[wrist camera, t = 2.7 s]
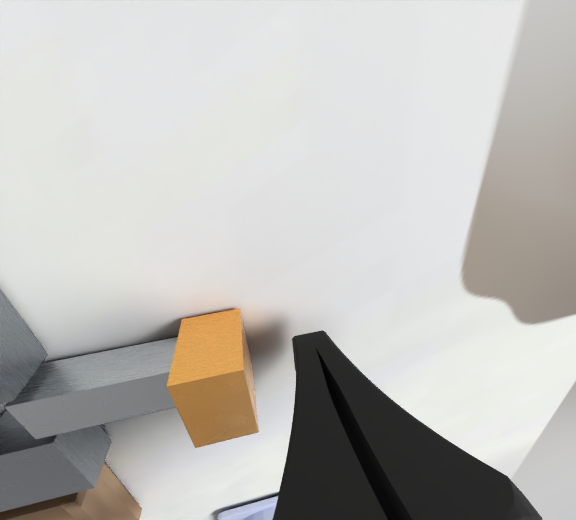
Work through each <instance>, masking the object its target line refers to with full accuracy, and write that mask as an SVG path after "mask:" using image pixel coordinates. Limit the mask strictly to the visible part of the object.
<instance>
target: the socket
mask: <svg viewBox="0 0 576 520" xmlns="http://www.w3.org/2000/svg"><path fill="white" fill-rule="evenodd" d="M47 356H48V354H47V353H46V351H45V350H44V349H43V347H42V346H41V345H40V343H39V342H38V340H37V339H36V338H35V336H34V335H33V334H32V332H31V331H30V330H29V328H28V327H27V326H26V324H25V323H24V321H23V320H22V319H21V317H20V316H19V315H18V313H17V312H16V311H15V309H14V308H13V306H12V305H11V304H10V302H9V301H8V300H7V298H6V297H5V296H4V294H3V293H2V292H1V290H0V404H1V403H6V402H11V401H14V399H15V398H16V397H17V395H18V394H19V393H20V391H21V390H22V389H23V387H24V386H25V385H26V383H27V382H28V381H29V379H30V378H31V377H32V375H33V374H34V373H35V371H36V370H37V369H38V367H39V366H40V365H41V364H42V362H43V361H44V360H45V358H46V357H47ZM110 444H111V440H110V438H109V437H108V435H107V434H106V433H105V431H104V430H103V429H102V427H101V426H100V425H96V426H92V427H87V428H83V429H79V430H74V431H70V432H66V433H61V434H57V435H52V436H48V437H44V438H39V439H35V438H34V437H33V436H32V435H31V434H30V433H29V432H28V431H27V430H26V429H25V428H24V427H23V426H22V425H21V424H20V423H19V422H18V421H17V420H16V419H15V418H14V417H13V416H12V415H11V414H10V413H9V412H8V411H5V413H4V414H3V415H2V417H1V418H0V512H3V511H7V510H11V509H14V508H18V507H22V506H26V505H30V504H34V503H38V502H42V501H45V500H49V499H53V498H57V497H61V496H65V495H69V494H73V493H77V492H80V491H84V490H88V489H92V488H95V486H96V483H97V480H98V477H99V475H100V472H101V469H102V466H103V463H104V461H105V458H106V455H107V452H108V450H109V447H110Z"/></svg>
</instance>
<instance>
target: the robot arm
mask: <svg viewBox="0 0 576 520" xmlns="http://www.w3.org/2000/svg"><path fill="white" fill-rule="evenodd" d="M292 341H293V351H294V362H295V370H296V391H295V405H294V414H293V422H292V429H291V435H290V441H289V447H288V453H287V458H286V463H285V468H284V473H283V477H282V482H281V486H280V491H279V495H278V496H276V497H272V498H269V499H265V500H262V501H258V502H255V503H251V504H248V505H244V506H241V507H237V508H234V509H230V510H227V511H223V512H221V513H219V515H218V520H542V517H541V516H540V515H539V514H538V512H537V511H536V510H535V508H534V507H533V506H532V505H531V504H530V502H529V501H528V499H527V498H526V497H525V496H524V495H523V493H522V492H521V491H520V490H519V489H518V488H517V487H516V486H515V484H514V483H513V482H512V481H511V480H510V479H509V478H508V477H507V476H506V475H504V474H502V473H501V472H499V471H497V470H495V469H494V468H492V467H490V466H488V465H487V464H485V463H483V462H482V461H480V460H478V459H477V458H475V457H473V456H472V455H470V454H468V453H467V452H465V451H463V450H462V449H460V448H459V447H457V446H456V445H454V444H452V443H451V442H449V441H448V440H446V439H445V438H443V437H442V436H440V435H439V434H437V433H436V432H434V431H433V430H432V429H430V428H429V427H427V426H426V425H424V424H423V423H422V422H420V421H419V420H417V419H416V418H414V417H413V416H412V415H411V414H409V413H408V412H407V411H405V410H404V409H403V408H401V407H400V406H399V405H398V404H396V403H395V402H394V401H393V400H391V399H390V398H389V397H388V396H387V395H386V394H384V393H383V392H382V391H381V390H380V389H379V388H378V387H376V386H375V385H374V384H373V383H372V382H371V381H370V380H369V379H368V378H367V377H366V376H365V375H364V374H363V373H362V372H360V371H359V369H358V368H357V367H356V366H355V365H354V364H353V363H352V362H351V361H350V360H349V359H348V358H347V357H346V356H345V355H344V354H343V353H342V352H341V350H340V349H339V348H338V347H337V346H336V345H335V344H334V342H333V341H332V340H331V339H330V337H329V336H328V335H327V334H326V332H324V331H323V330H322V331H318V332H313V333H308V334H303V335H298V336H294V337H293V339H292Z"/></svg>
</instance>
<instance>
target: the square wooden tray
mask: <svg viewBox="0 0 576 520" xmlns="http://www.w3.org/2000/svg"><path fill="white" fill-rule="evenodd" d="M141 510H142V508H141V507H140V506H139V504H138V503H137V502H136V501H135V500H134V498H133V497H132V496H131V495H130V494H129V492H128V491H127V490H126V489H125V487H124V486H123V485H122V484H121V483H120V481H119V480H118V479H117V478H116V476H115V475H114V474H113V473H112V472H111V470H110V469H109V468H108V467H107V465H106V464H105V463H103V466H102V469H101V472H100V475H99V477H98V480H97V483H96V486H95V488H92V489H88V490H84V491H80V492H77V493H73V494H69V495H65V496H61V497H57V498H53V499H49V500H45V501H42V502H38V503H34V504H30V505H26V506H22V507H18V508H14V509H11V510H7V511H3V512H0V520H139V519H140V514H141Z"/></svg>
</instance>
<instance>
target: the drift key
mask: <svg viewBox="0 0 576 520" xmlns="http://www.w3.org/2000/svg"><path fill="white" fill-rule="evenodd" d="M175 407H176V408H177V410H178V412H179V414H180V416H181V418H182V420H183V423H184V425H185V427H186V429H187V431H188V433H189V435H190V437H191V440H192V442H193V444H194V446H195V448H197V447H201V446H205V445H209V444H213V443H217V442H221V441H225V440H229V439H233V438H237V437H241V436H245V435H249V434H253V433H257V432H259V430H258V420H257V410H256V399H255V389H254V379H253V369H252V363H251V358H250V353H249V349H248V344H247V339H246V335H245V330H244V326H243V321H242V316H241V312H240V308H239V309H234V310H229V311H223V312H218V313H213V314H207V315H202V316H197V317H192V318H186V319H182V321H181V325H180V330H179V334H178V337H175V338H170V339H165V340H160V341H155V342H150V343H144V344H139V345H134V346H129V347H124V348H119V349H114V350H109V351H104V352H99V353H94V354H88V355H83V356H78V357H73V358H68V359H63V360H58V361H53V362H48V363H43V364H41V365H40V366H39V367H38V369H37V370H36V371H35V373H34V374H33V375H32V377H31V378H30V379H29V381H28V382H27V383H26V385H25V386H24V387H23V389H22V390H21V391H20V393H19V394H18V395H17V397H16V398H15V399H14V401H11V402H8V403H7V404H6V405H5V408H6V410H7V411H8V412H9V413H10V414H11V415H12V416H13V417H14V418H15V419H16V420H17V421H18V422H19V423H20V424H21V425H22V426H23V427H24V428H25V429H26V430H27V431H28V432H29V433H30V434H31V435H32V436H33V437H34V438H35V439H39V438H44V437H48V436H52V435H57V434H61V433H66V432H70V431H74V430H79V429H83V428H87V427H92V426H96V425H100V424H105V423H109V422H113V421H118V420H122V419H127V418H131V417H135V416H140V415H144V414H148V413H153V412H157V411H161V410H166V409H170V408H175Z"/></svg>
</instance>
